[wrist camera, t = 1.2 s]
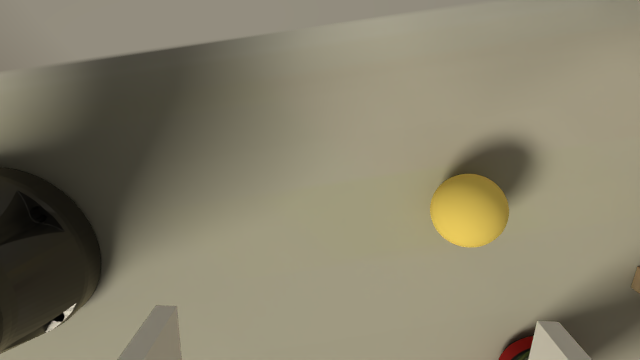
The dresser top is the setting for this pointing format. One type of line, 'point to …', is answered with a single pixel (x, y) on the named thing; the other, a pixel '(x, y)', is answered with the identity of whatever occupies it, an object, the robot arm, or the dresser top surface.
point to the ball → (469, 210)
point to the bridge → (636, 281)
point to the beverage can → (518, 350)
